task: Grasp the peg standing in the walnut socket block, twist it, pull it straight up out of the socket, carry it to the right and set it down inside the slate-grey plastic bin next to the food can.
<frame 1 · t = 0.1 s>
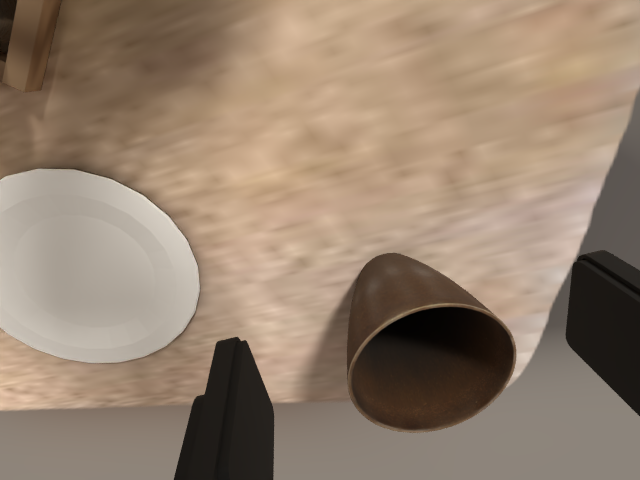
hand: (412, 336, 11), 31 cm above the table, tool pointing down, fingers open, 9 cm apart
plate: (90, 270, 43), on the table
plant pot: (386, 277, 47), on the table
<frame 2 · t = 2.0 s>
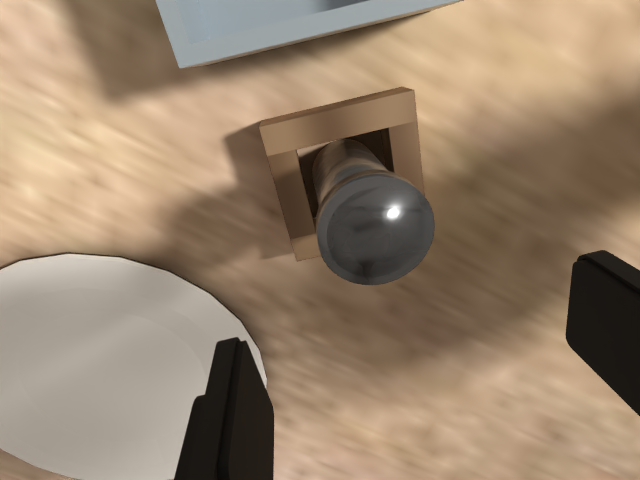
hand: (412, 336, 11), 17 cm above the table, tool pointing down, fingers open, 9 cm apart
socket block: (344, 172, 25), on the table
plate: (120, 373, 32), on the table
peg: (357, 196, 21), in the socket block
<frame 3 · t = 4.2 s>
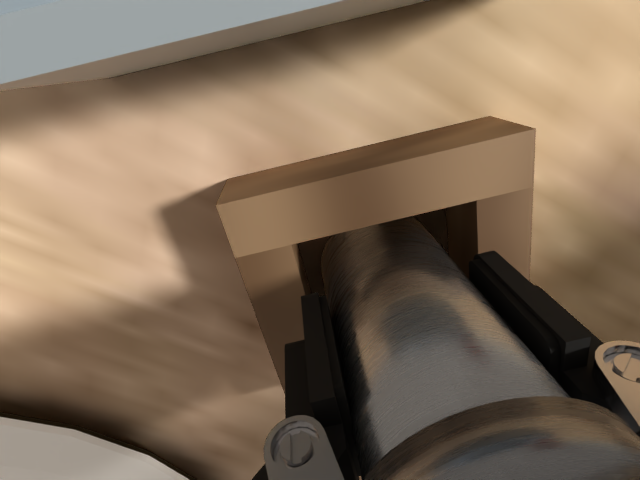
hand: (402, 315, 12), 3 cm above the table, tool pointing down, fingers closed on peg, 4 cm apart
socket block: (377, 261, 15), on the table
peg: (420, 352, 10), in the socket block, touching gripper
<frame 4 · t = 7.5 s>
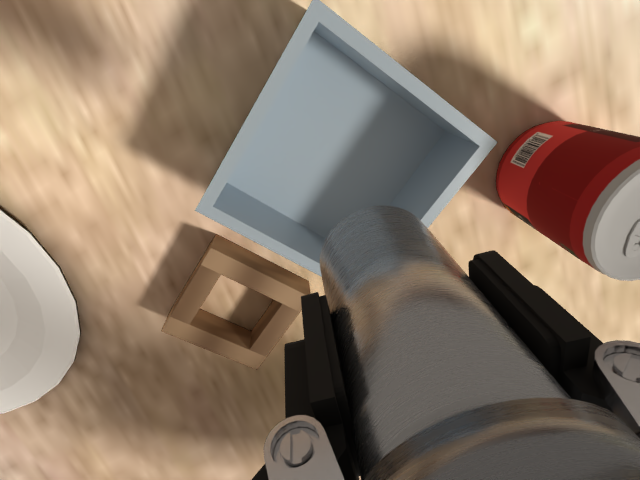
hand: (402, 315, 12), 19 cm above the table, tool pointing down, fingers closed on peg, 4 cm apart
socket block: (238, 297, 33), on the table
canned food: (536, 168, 31), on the table
bin: (333, 154, 29), on the table
peg: (419, 350, 10), point 21 cm above the table, touching gripper
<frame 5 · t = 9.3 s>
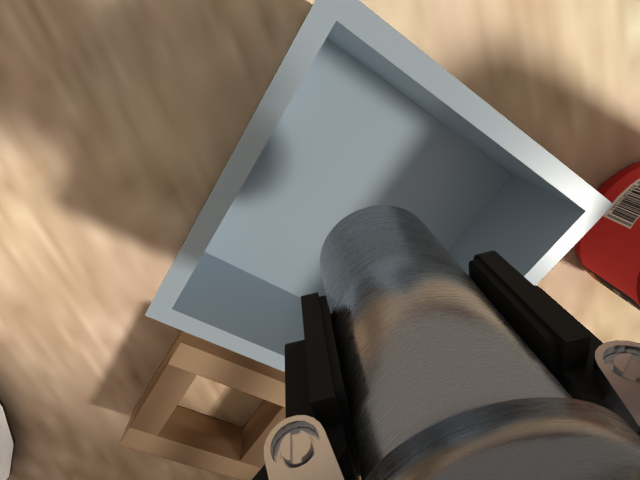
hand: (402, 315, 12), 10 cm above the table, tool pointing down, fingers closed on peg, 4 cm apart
socket block: (225, 389, 25), on the table
canned food: (629, 218, 23), on the table
bin: (352, 207, 20), on the table
peg: (420, 350, 10), point 11 cm above the table, touching gripper
when the fingers open (6 cm above the table, at t = 10.9 s): peg drops 2 cm, resting on bin.
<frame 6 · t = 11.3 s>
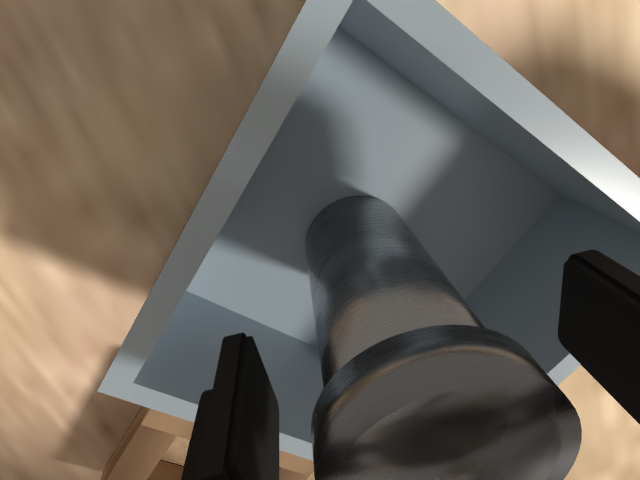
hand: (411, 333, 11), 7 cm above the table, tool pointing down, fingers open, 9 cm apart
socket block: (213, 440, 22), on the table
bin: (364, 235, 17), on the table
peg: (384, 314, 12), in the bin, point 6 cm above the table
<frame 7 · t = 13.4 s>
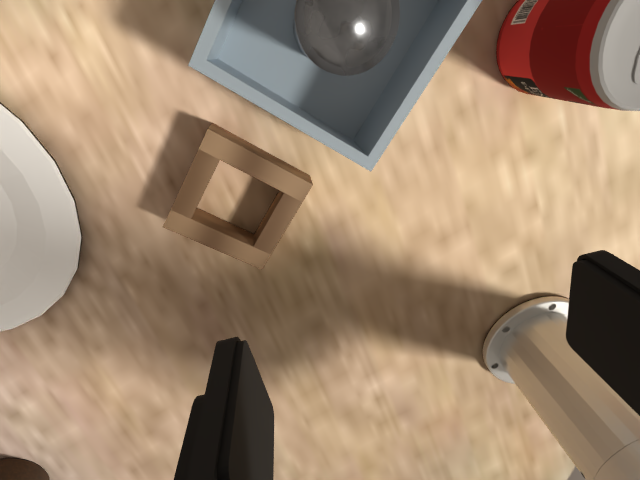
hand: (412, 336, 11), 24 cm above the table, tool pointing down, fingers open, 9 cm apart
socket block: (239, 195, 33), on the table
canned food: (537, 39, 30), on the table
bin: (328, 26, 28), on the table
plant pot: (16, 474, 46), on the table
peg: (333, 24, 23), in the bin, point 6 cm above the table
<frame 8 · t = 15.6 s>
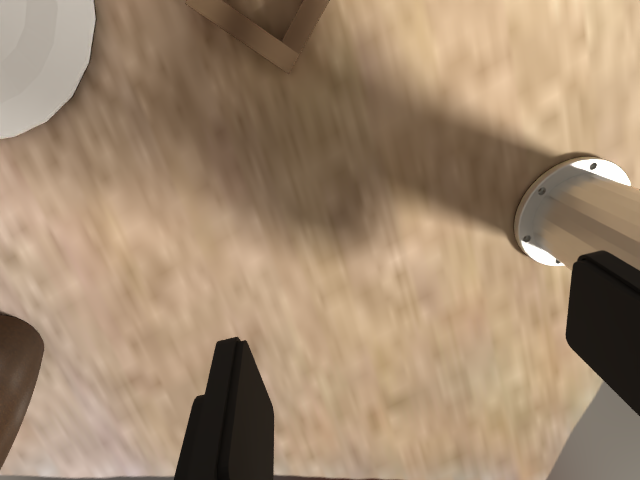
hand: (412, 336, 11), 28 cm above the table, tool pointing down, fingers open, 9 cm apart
plant pot: (9, 338, 43), on the table
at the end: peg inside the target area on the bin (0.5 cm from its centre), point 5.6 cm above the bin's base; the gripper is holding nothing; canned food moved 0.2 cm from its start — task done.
